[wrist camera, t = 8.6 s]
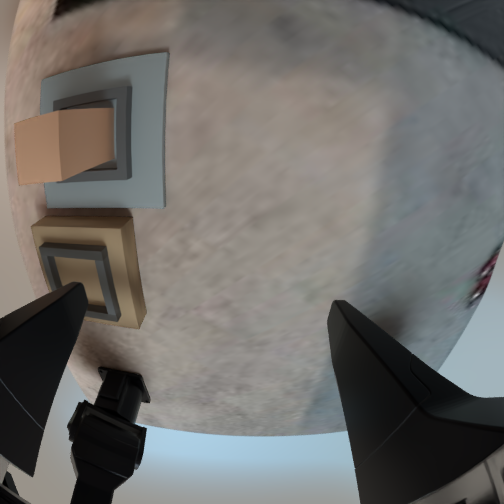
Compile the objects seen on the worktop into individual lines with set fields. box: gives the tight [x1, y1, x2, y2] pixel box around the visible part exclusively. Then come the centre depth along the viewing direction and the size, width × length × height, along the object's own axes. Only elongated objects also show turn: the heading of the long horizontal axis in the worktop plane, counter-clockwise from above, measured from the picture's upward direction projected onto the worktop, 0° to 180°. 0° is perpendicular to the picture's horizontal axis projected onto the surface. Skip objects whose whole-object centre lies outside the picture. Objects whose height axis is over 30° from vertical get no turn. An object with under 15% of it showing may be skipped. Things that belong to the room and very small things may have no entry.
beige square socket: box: [31, 216, 147, 329], centre depth 22 cm, size 10×10×4 cm
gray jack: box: [40, 52, 169, 209], centre depth 17 cm, size 12×12×2 cm
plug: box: [14, 108, 115, 185], centre depth 14 cm, size 4×4×7 cm
